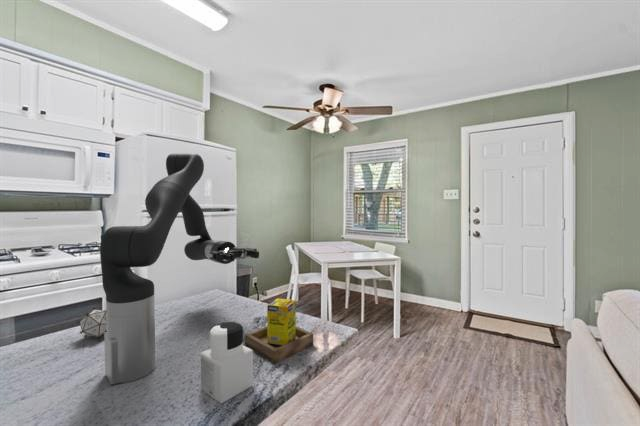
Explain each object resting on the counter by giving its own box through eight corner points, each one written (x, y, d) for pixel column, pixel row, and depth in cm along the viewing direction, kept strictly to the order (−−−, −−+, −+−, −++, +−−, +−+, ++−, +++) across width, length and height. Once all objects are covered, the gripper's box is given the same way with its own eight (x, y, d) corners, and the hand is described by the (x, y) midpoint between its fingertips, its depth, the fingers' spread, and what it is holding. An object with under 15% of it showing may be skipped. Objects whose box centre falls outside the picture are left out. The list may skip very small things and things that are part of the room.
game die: (92, 348, 86) (87, 315, 89) (123, 334, 88) (117, 303, 92) (71, 346, 78) (67, 310, 81) (106, 331, 80) (100, 297, 84)
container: (232, 372, 67) (232, 315, 66) (253, 385, 62) (253, 324, 61) (200, 388, 61) (199, 326, 60) (221, 405, 56) (220, 337, 55)
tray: (275, 363, 70) (275, 351, 70) (245, 345, 79) (245, 334, 79) (313, 344, 80) (313, 333, 80) (282, 330, 89) (282, 320, 89)
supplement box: (287, 349, 75) (287, 307, 75) (266, 346, 77) (266, 304, 77) (296, 339, 81) (296, 299, 81) (276, 336, 83) (276, 297, 82)
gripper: (200, 242, 96) (224, 245, 85) (238, 239, 106) (265, 242, 95) (200, 265, 96) (224, 271, 85) (238, 260, 106) (265, 265, 95)
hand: (246, 256), depth 90 cm, fingers open, 8 cm apart
